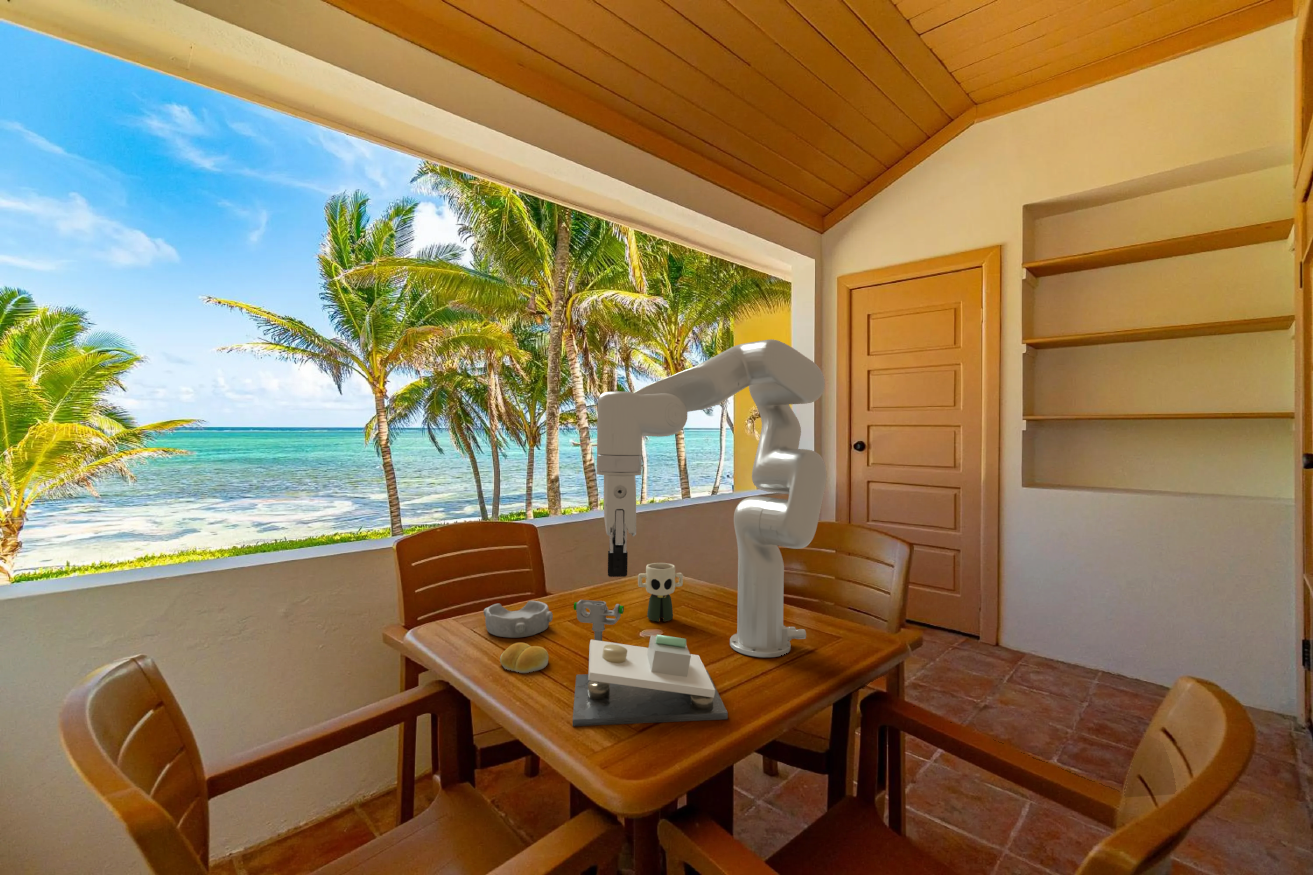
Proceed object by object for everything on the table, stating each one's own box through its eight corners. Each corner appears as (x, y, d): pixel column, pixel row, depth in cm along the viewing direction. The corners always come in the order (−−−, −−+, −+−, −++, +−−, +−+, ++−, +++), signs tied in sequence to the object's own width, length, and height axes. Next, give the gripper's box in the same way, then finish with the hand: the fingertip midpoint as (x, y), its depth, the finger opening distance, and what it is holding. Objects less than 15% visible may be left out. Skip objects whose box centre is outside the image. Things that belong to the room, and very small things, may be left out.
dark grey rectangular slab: (707, 675, 102) (707, 660, 102) (727, 719, 87) (727, 701, 87) (576, 680, 100) (576, 664, 100) (572, 726, 84) (572, 707, 84)
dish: (475, 627, 127) (476, 606, 127) (530, 615, 136) (530, 595, 136) (503, 646, 116) (503, 622, 116) (561, 631, 125) (561, 609, 125)
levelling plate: (697, 661, 101) (703, 628, 101) (713, 697, 87) (720, 659, 87) (589, 645, 99) (595, 612, 99) (588, 679, 85) (595, 640, 85)
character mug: (638, 625, 130) (639, 569, 130) (636, 615, 137) (637, 562, 137) (684, 623, 131) (685, 568, 131) (680, 614, 138) (680, 562, 138)
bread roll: (533, 677, 101) (534, 655, 101) (493, 669, 105) (493, 648, 105) (557, 660, 109) (557, 640, 109) (519, 653, 112) (519, 634, 112)
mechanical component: (620, 656, 111) (621, 606, 111) (571, 652, 113) (572, 603, 113) (624, 651, 114) (624, 602, 114) (576, 646, 116) (577, 599, 116)
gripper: (645, 468, 86) (643, 587, 86) (638, 464, 101) (636, 565, 100) (596, 467, 85) (594, 587, 85) (596, 463, 100) (594, 565, 100)
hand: (617, 575), depth 93 cm, fingers closed
